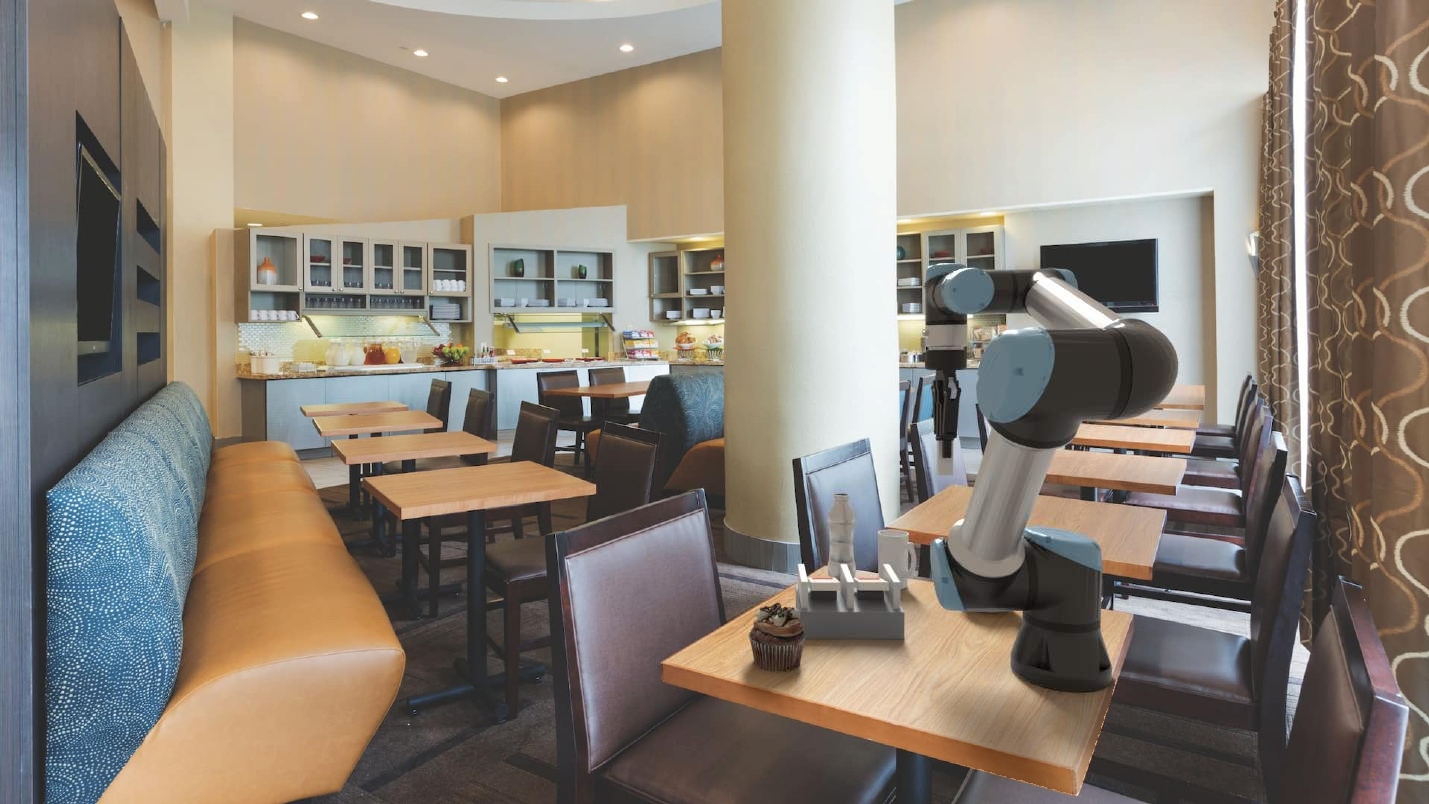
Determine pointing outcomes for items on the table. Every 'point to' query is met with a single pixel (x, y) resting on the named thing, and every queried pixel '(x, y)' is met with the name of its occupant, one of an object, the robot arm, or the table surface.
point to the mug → (896, 554)
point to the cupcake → (777, 638)
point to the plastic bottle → (841, 536)
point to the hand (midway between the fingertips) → (944, 474)
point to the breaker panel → (851, 609)
